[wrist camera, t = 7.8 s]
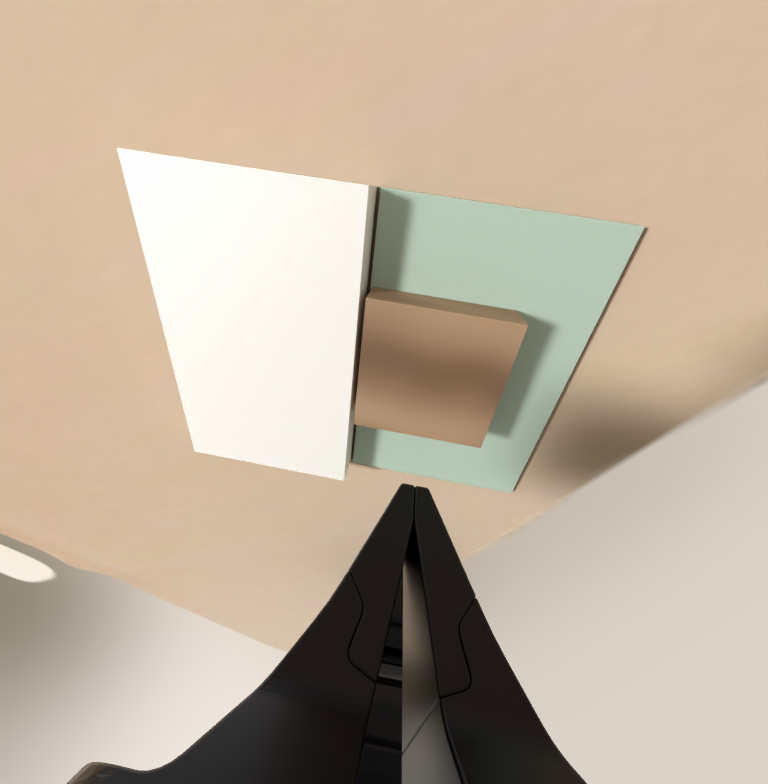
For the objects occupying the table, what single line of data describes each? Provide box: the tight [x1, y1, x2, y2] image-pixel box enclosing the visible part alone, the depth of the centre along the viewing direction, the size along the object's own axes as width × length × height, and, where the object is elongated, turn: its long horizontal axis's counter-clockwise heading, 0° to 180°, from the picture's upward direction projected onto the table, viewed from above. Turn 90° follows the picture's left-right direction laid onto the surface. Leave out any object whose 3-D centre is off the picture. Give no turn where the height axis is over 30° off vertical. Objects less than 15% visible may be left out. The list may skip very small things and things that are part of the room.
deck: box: [117, 148, 377, 481], centre depth 17 cm, size 16×10×2 cm, turn 173°
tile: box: [354, 287, 528, 448], centre depth 16 cm, size 7×7×2 cm
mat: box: [353, 187, 645, 493], centre depth 18 cm, size 16×11×1 cm
